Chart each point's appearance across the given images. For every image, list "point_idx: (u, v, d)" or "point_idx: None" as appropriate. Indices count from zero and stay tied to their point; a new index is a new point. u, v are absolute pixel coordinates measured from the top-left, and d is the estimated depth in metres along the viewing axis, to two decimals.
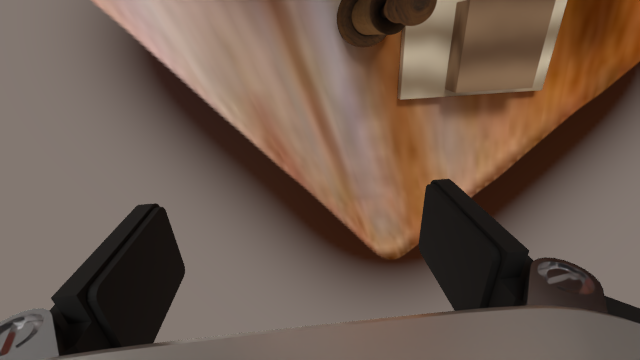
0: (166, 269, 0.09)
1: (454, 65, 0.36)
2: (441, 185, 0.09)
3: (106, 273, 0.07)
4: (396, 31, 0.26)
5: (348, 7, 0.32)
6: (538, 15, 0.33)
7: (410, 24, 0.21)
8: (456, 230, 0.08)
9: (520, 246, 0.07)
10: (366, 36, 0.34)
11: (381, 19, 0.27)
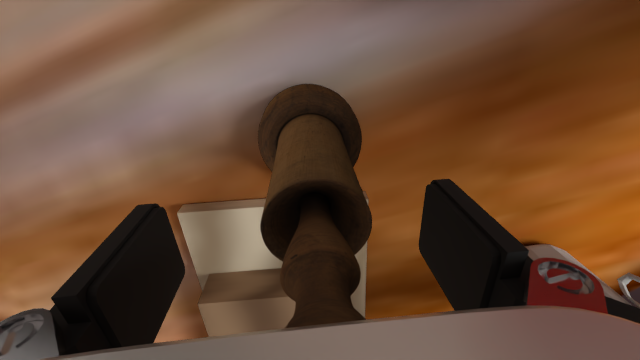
0: (166, 269, 0.09)
1: (243, 286, 0.22)
2: (441, 185, 0.09)
3: (106, 273, 0.07)
4: (269, 245, 0.10)
5: (323, 107, 0.16)
6: None
7: None
8: (456, 230, 0.08)
9: (520, 246, 0.07)
10: (275, 145, 0.17)
11: (297, 199, 0.11)
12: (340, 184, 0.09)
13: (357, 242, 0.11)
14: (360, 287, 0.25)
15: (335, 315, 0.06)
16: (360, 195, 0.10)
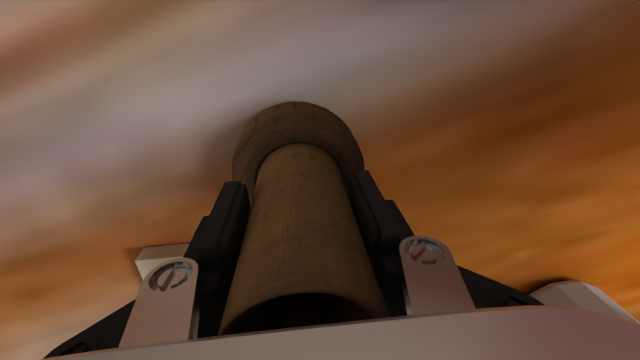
0: None
1: None
2: (357, 175, 0.10)
3: (226, 232, 0.08)
4: None
5: (316, 134, 0.13)
6: None
7: None
8: (360, 215, 0.09)
9: (395, 226, 0.08)
10: (254, 182, 0.13)
11: None
12: (345, 296, 0.06)
13: None
14: None
15: None
16: (379, 308, 0.06)
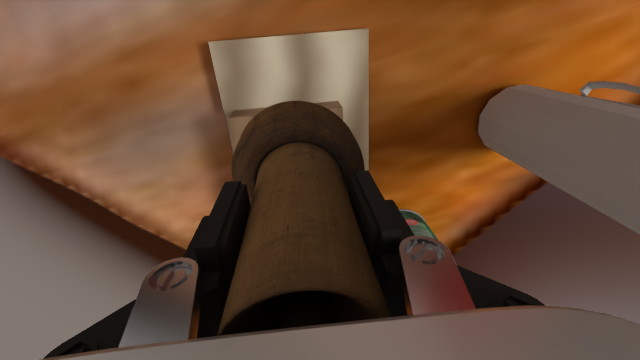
0: None
1: None
2: (357, 175, 0.10)
3: (226, 232, 0.08)
4: None
5: (316, 133, 0.13)
6: None
7: None
8: (360, 215, 0.09)
9: (395, 225, 0.08)
10: (254, 181, 0.13)
11: None
12: (346, 294, 0.06)
13: None
14: (364, 128, 0.29)
15: None
16: (380, 307, 0.06)
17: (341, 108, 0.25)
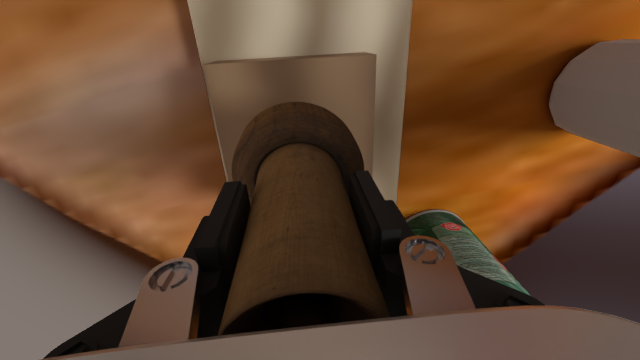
0: None
1: (260, 59, 0.18)
2: (357, 175, 0.10)
3: (226, 232, 0.08)
4: None
5: (316, 134, 0.13)
6: None
7: None
8: (360, 215, 0.09)
9: (395, 226, 0.08)
10: (253, 182, 0.13)
11: None
12: (346, 297, 0.06)
13: None
14: (398, 94, 0.21)
15: None
16: (379, 309, 0.06)
17: (374, 55, 0.17)
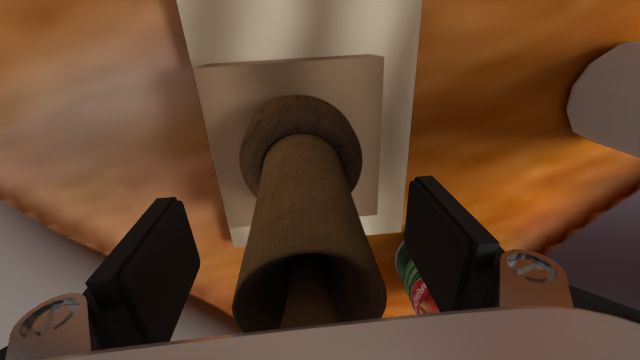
0: (184, 260, 0.10)
1: (256, 62, 0.16)
2: (423, 181, 0.10)
3: (134, 261, 0.07)
4: (246, 330, 0.08)
5: (317, 125, 0.14)
6: None
7: None
8: (435, 224, 0.09)
9: (491, 238, 0.07)
10: (260, 170, 0.14)
11: (284, 262, 0.08)
12: (343, 256, 0.07)
13: None
14: (406, 99, 0.19)
15: None
16: (371, 267, 0.07)
17: (382, 58, 0.15)
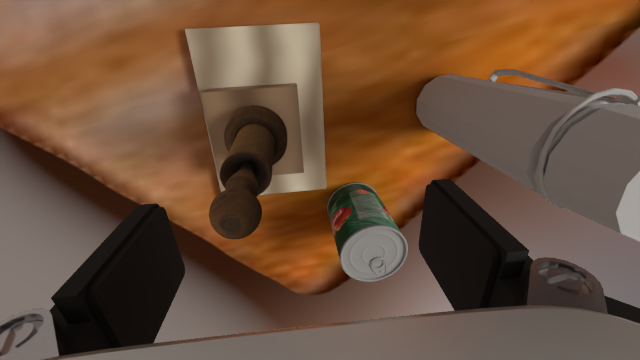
0: (166, 269, 0.09)
1: (232, 88, 0.31)
2: (441, 185, 0.09)
3: (106, 273, 0.07)
4: (224, 185, 0.22)
5: (261, 119, 0.29)
6: (286, 161, 0.34)
7: (209, 215, 0.17)
8: (456, 230, 0.08)
9: (521, 246, 0.07)
10: (234, 142, 0.29)
11: (238, 164, 0.23)
12: (254, 154, 0.22)
13: (266, 183, 0.23)
14: (319, 107, 0.35)
15: None
16: (264, 159, 0.22)
17: (296, 87, 0.31)
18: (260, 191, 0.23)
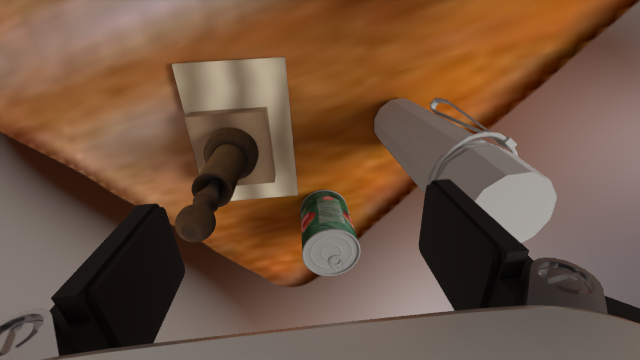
0: (166, 269, 0.09)
1: (212, 113, 0.37)
2: (441, 185, 0.09)
3: (106, 273, 0.07)
4: None
5: (233, 140, 0.35)
6: (259, 173, 0.40)
7: (175, 224, 0.23)
8: (456, 230, 0.08)
9: (520, 246, 0.07)
10: None
11: (208, 181, 0.29)
12: (217, 175, 0.28)
13: (229, 196, 0.29)
14: (288, 126, 0.40)
15: (198, 204, 0.24)
16: (226, 178, 0.28)
17: (264, 112, 0.36)
18: (224, 203, 0.29)
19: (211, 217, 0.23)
